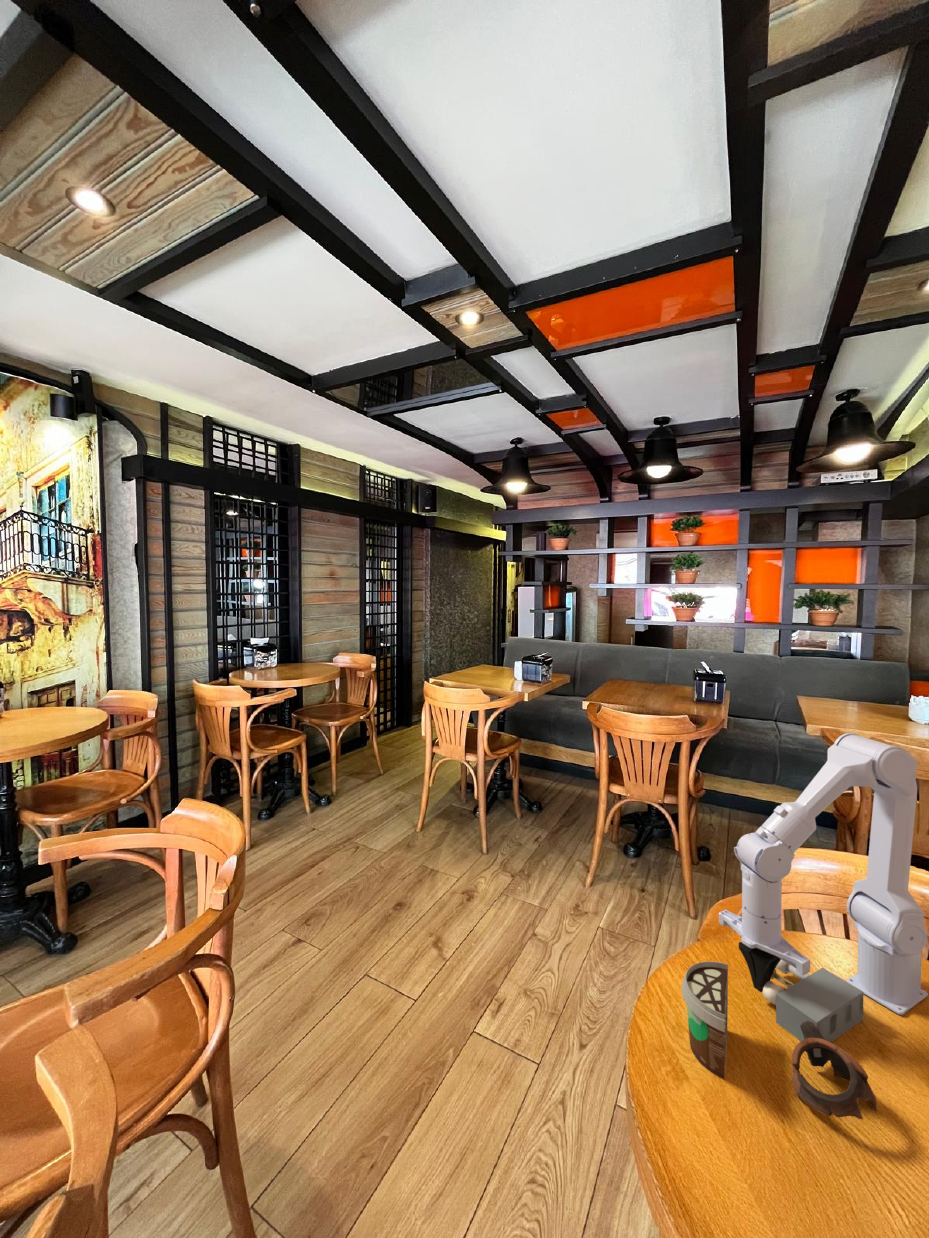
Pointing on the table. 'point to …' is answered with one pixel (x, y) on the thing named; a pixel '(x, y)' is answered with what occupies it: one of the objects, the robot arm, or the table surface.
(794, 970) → the knob
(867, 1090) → the jagged brown ring
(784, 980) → the pot shaft
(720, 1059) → the food container
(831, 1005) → the grey slotted box
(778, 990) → the knob
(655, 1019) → the table surface
